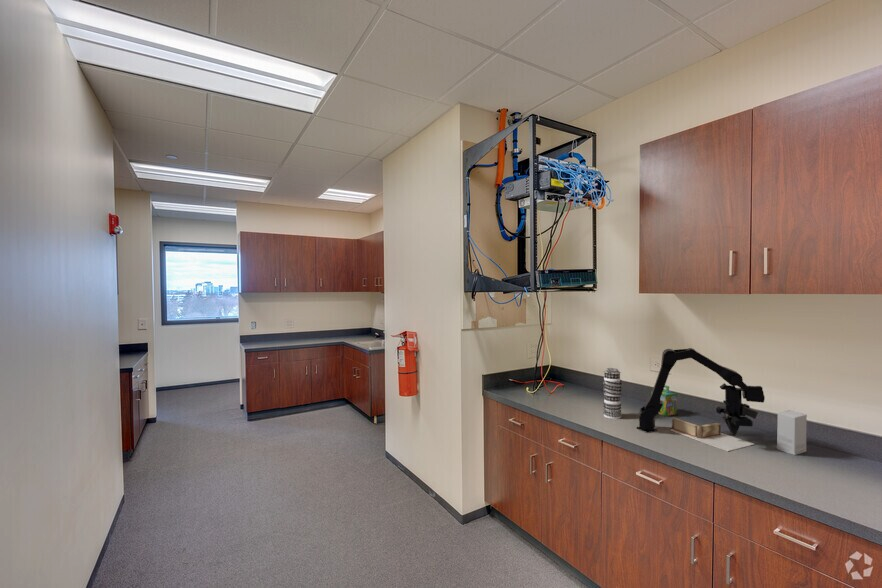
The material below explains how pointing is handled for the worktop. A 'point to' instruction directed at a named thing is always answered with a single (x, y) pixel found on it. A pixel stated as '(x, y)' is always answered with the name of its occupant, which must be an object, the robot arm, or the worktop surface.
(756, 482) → the worktop surface
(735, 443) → the fence post and layout card
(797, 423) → the skincare box
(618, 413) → the decorative candle
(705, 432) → the folding fence panel
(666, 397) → the chalk box
